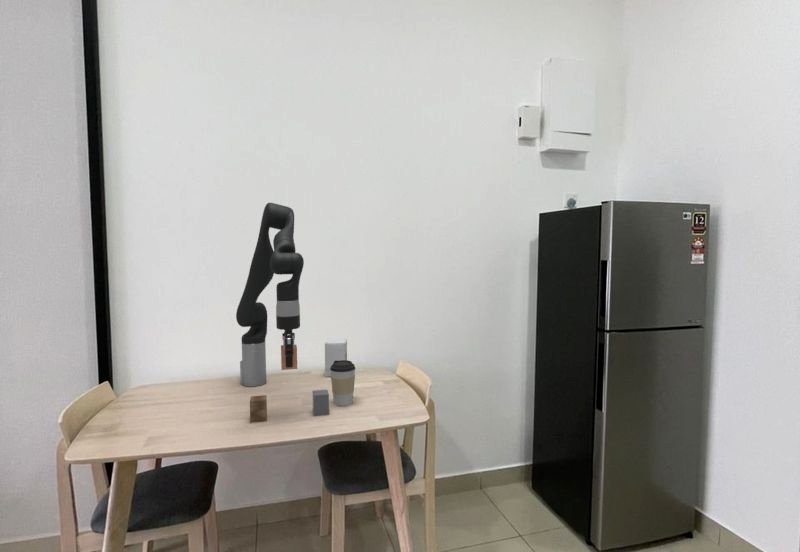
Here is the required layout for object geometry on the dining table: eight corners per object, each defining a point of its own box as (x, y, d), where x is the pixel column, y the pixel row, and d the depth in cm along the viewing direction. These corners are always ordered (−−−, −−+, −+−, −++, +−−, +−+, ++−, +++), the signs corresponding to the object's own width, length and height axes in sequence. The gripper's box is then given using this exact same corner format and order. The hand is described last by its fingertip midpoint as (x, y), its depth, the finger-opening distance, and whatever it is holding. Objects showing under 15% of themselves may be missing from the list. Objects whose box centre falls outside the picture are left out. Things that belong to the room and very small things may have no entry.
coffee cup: (359, 399, 159) (359, 359, 158) (349, 408, 150) (348, 366, 149) (337, 396, 162) (337, 357, 161) (326, 405, 153) (325, 363, 152)
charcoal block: (313, 416, 144) (313, 395, 143) (312, 410, 148) (312, 390, 148) (329, 414, 145) (328, 394, 144) (327, 409, 150) (327, 389, 149)
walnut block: (250, 423, 138) (249, 401, 138) (251, 417, 143) (250, 396, 143) (266, 421, 140) (266, 400, 139) (267, 415, 144) (266, 394, 144)
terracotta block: (281, 370, 140) (280, 348, 139) (281, 366, 145) (280, 345, 144) (297, 368, 141) (296, 347, 141) (296, 364, 146) (296, 344, 145)
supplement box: (345, 377, 186) (345, 342, 185) (324, 377, 186) (324, 343, 185) (347, 371, 195) (347, 338, 194) (327, 371, 195) (327, 338, 194)
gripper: (300, 316, 136) (301, 369, 137) (298, 310, 149) (299, 358, 151) (276, 317, 134) (277, 371, 135) (276, 311, 147) (277, 360, 149)
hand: (289, 364), depth 143 cm, fingers closed on terracotta block, 5 cm apart
